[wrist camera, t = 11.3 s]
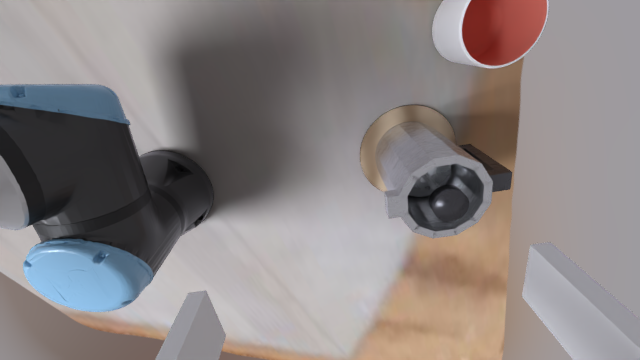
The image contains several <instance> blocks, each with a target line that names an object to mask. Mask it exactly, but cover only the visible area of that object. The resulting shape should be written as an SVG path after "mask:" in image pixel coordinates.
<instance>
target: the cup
mask: <svg viewBox="0 0 640 360" xmlns="http://www.w3.org/2000/svg"><path fill="white" fill-rule="evenodd" d="M548 12H549V0H443V2H442V3H441V4H440V6H439V8H438V10H437V12H436V14H435V17H434V20H433V26H432V36H433V42H434V45H435V47H436V49H437V50H438V52H439V53H440V54H441V55H442V56H443V57H444V58H445V59H447V60H449V61H451V62H454V63H459V64H465V65H471V66H478V67H484V68H501V67H505V66H508V65H510V64H512V63H514V62H516V61H518V60H519V59H521V58H522V57H523V56H525V55H526V54H527V53H528V52H529V51H530V50H531V49H532V48H533V46H534V45H535V44H536V43H537V41H538V40H539V38H540V36H541V35H542V32H543V30H544V28H545V25H546V22H547V19H548Z"/></svg>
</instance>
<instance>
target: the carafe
mask: <svg viewBox="0 0 640 360" xmlns="http://www.w3.org/2000/svg"><path fill="white" fill-rule="evenodd" d="M375 160H376V164H377V170H378V172H379V174H380V176H381V178H382V180H383V182H384V184H385V186H386V188H387V190H388V191H384V193H385V205H386V213H387V215H388V218H396V217H401V218H402V219H403V221H404V222H405V223H406V224H407V225H408V227H409V228H410V229H411V230H412V231H413V232H415V233H418V234H421V235H424V236H428V237H431V238H439V237H446V236H453V235H457V234H459V233H461V232H462V231H464V230H466V229H467V228H469V227H471V226H472V225H474V224H476V223H477V222H478V221H479V220H480V218H481V217H482V215H483V214H484V212H485V211H486V210H487V208H488V207H489V205H490V204H491V198H492V192H495V191H502V190H509V189H510V187H511V178H512V172H511V171H510V170H508V169H507V168H505V167H504V166H502V165H501V164H499V163H498V162H496V161H495V160H493V159H492V158H490V157H489V156H487V155H486V154H484V153H483V152H481V151H480V150H478V149H477V148H475V147H474V146H472V145H471V144H466V145H460V146H457V145H456V144H455V143H453V142H452V141H451V140H449V139H448V138H446V137H445V136H444V135H442V134H441V133H440V132H438V131H437V130H436V129H434V128H432V127H430V126H428V125H426V124H424V123H421V122H415V121H410V122H404V123H400V124H398V125H396V126H394V127H392V128H391V129H389V130H388V131H387V132H386V133H385V134H384V135H383V136H382V138H381V139H380V141H379V143H378V145H377V148H376V153H375ZM444 165H451V173H450V176H449V179H448V181H447V182H446V184H445V185H454V186H456V187H458V188H459V189H460V190H461V191H462V192H463V193H464V194H465V195H466V196H467V198H468V200H469V208H468V211H467V212H466V214H465V215H464V216H463V217H461V218H460V219H458V220H456V221H452V222H445V221H442V220H440V219H438V218H437V217H436V215H435V214H434V212H433V211H432V210H431V208H430V206H429V197H430V195H428V196H423V197H415V196H411V195H409V193H410V191H411V189H412V187H413V186H414V184H415V182H416V180H417V179H418V178H420V177H421V176H423V175H424V174H426V173H427V172H428V171H430V170H431V169H433V168H434V167H438V166H444Z"/></svg>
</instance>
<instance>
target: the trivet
mask: <svg viewBox="0 0 640 360" xmlns="http://www.w3.org/2000/svg"><path fill="white" fill-rule="evenodd" d="M410 121H415V122H421V123H424V124H426V125H428V126H430V127H432V128H434V129H436V130H437V131H438V132H440V133H441V134H442V135H444V136H445V137H446V138H448V139H449V140H451V141H452V142H453V143H455V144H456V140H455V134H454V132H453V129H452V127H451V125H450V123H449V122H448V121H447V119H446V118H445V117H444V116H442V115H441V114H440V113H438V112H437V111H435V110H433V109H431V108H428V107H425V106H420V105H406V106H401V107H397V108H395V109H392V110H390V111H388V112H386V113H385V114H383V115H382V116H380V117H379V118H378V119H377V120H376V121H375V122H374V123H373V124H372V125H371V126H370V128H369V129H368V130H367V132H366V134H365V136H364V138H363V141H362V144H361V148H360V161H361V166H362V169H363V172H364V174H365V176H366V177H367V179H368V180H369V181H370V183H371V184H372V185H374V186H375V187H376V188H377V189H379V190H381V191H383V192H384V191H388V190H387V188H386V186H385V184H384V182H383V180H382V178H381V176H380V174H379V172H378V170H377V164H376V160H375V153H376V148H377V145H378V143H379V141H380V139H381V138H382V136H383V135H384V134H385V133H386V132H387V131H388V130H389V129H391V128H392V127H394V126H396V125H398V124H400V123H404V122H410Z"/></svg>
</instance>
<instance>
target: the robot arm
mask: <svg viewBox="0 0 640 360" xmlns="http://www.w3.org/2000/svg"><path fill="white" fill-rule="evenodd" d="M129 125H130V122H129V120H127V119H126V117H125V114H124V111H123V109H122V106H121V104H120V101H119V98H118V97H117V95H116V94H115V93H114V92H113V91H112V90H111V89H109V88H108V87H105V86H102V85H95V84H43V85H0V228H3V229H10V230H20V229H23V228H25V227H27V226H30V225H33V227H34V228H35V230H36V232H37V234H38V236H39V238H40V240H41V243H39V244H36V245H35V246H34V247H32V248H31V250H30V251H29V254H28V255H27V256H26V260H25V261H24V263H23V270H24V273H25V276H26V278H27V280H28V281H29V283H30V284H31V285H32V286H33V287H34V288H35V289H36V290H37V291H38V292H39V293H41V294H42V295H44V296H45V297H47V298H48V299H50V300H52V301H54V302H56V303H58V304H61V305H65V306H67V307H70V308H73V309H77V310H82V311H89V312H106V311H112V310H116V309H120V308H122V307H125V306H127V305H128V304H130V303H131V302H133V301H134V300H135V299H136V298H137V297H138V296H139V294H140V293H141V292H142V291H143V289H144V288H145V287H146V286H147V285H148V284H150V283H151V281H152V280H153V277H154V275H155V274H156V272H157V271H158V269H159V268H160V266H161V265H162V263H163V262H164V260H165V259H166V257H167V256H168V254H169V253H170V251H171V249H172V248H173V246H174V245H175V243H176V242H177V240H178V239H179V237H180V236H182V235H183V234H185V233H187V232H188V231H190V230H192V229H193V228H195V227H197V226H198V225H199V224H200V223H201V222H202V221H203V220H204V219H205V217H206V216H207V214H208V213H209V211H210V209H211V207H212V204H213V189H212V185H211V183H210V180H209V178H208V177H207V175H206V174H205V172H204V171H203V170H202V169H201V168H200V167H199V166H198V165H197V164H196V163H194V162H193V161H192V160H190V159H188V158H187V157H185V156H182V155H180V154H177V153H174V152H169V151H153V152H149V153H146V154H143V155H141V156H140V157H139V155H138V152H137V149H136V146H135V143H134V140H133V137H132V134H131V131H130V128H129ZM522 297H523V298H524V299H525V301H526V302H527V303H528V304H529V305H530V307H531V308H532V309H533V310H534V312H535V313H536V314H537V315H538V317H539V318H540V319H541V320H542V322H543V323H544V324H545V325H546V326H547V328H548V329H549V330H550V332H551V333H552V334H553V335H554V336H555V338H556V339H557V340H558V341H559V343H560V344H561V345H562V346H563V348H564V349H565V350H566V351H567V353H568V354H569V355H570V356H571V357H572V359H573V360H640V318H639V317H637V316H636V315H635V314H634V313H633V312H632V311H630V310H629V309H628V308H627V307H626V306H625V305H623V304H622V303H621V302H620V301H619V300H618V299H616V298H615V297H614V296H613V295H612V294H611V293H609V292H608V291H607V290H606V289H605V288H604V287H602V286H601V285H600V284H599V283H598V282H597V281H595V280H594V279H593V278H592V277H591V276H590V275H588V274H587V273H586V272H585V271H584V270H582V269H581V268H580V267H579V266H578V265H577V264H576V263H574V262H573V261H572V260H571V259H570V258H568V257H567V256H566V255H565V254H564V253H563V252H562V251H560V250H559V249H558V248H557V247H556V246H555V245H553V244H552V243H551V242H547V243H540V244H533V245H530V250H529V257H528V263H527V270H526V275H525V281H524V288H523V294H522ZM225 337H226V334H225V332H224V330H223V328H222V325H221V323H220V321H219V319H218V316H217V314H216V312H215V310H214V307H213V305H212V303H211V300H210V298H209V296H208V294H207V291H200V292H193V293H188V295H187V297H186V299H185V301H184V303H183V305H182V307H181V309H180V311H179V313H178V315H177V317H176V319H175V321H174V323H173V325H172V327H171V329H170V331H169V333H168V335H167V337H166V339H165V341H164V343H163V345H162V347H161V349H160V351H159V353H158V355H157V357H156V359H155V360H219V357H220V353H221V350H222V347H223V343H224V340H225Z"/></svg>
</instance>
